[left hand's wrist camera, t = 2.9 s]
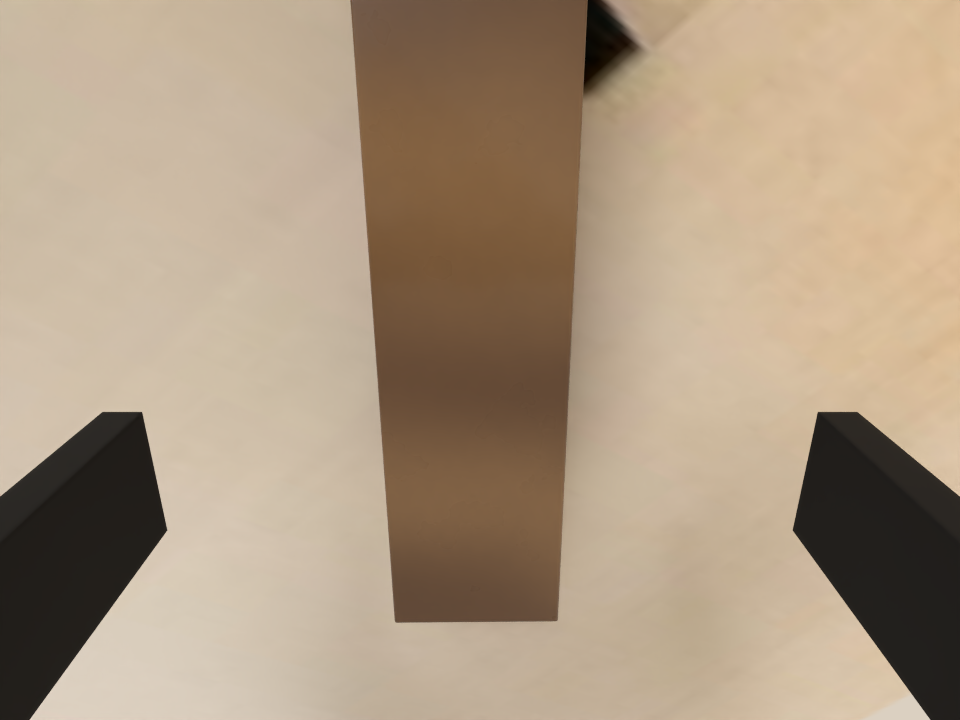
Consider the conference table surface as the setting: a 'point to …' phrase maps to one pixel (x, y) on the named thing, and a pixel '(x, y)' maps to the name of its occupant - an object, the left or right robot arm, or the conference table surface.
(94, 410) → the conference table surface
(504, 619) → the beam
